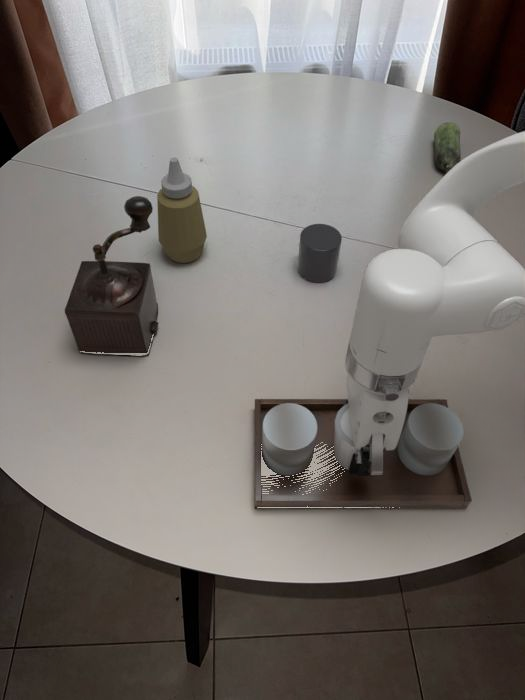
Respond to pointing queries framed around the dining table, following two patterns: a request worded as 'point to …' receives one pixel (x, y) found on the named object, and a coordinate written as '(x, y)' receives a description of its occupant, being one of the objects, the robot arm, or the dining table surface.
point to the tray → (351, 489)
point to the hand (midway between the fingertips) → (358, 443)
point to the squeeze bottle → (180, 216)
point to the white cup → (344, 438)
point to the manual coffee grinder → (115, 296)
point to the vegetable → (447, 146)
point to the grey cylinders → (319, 253)
